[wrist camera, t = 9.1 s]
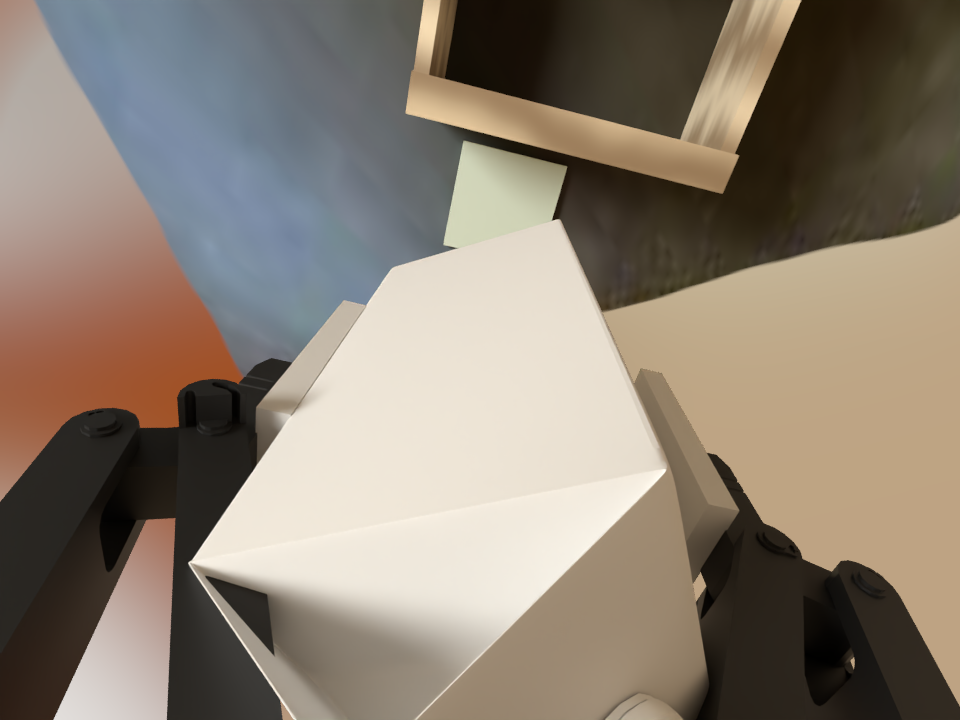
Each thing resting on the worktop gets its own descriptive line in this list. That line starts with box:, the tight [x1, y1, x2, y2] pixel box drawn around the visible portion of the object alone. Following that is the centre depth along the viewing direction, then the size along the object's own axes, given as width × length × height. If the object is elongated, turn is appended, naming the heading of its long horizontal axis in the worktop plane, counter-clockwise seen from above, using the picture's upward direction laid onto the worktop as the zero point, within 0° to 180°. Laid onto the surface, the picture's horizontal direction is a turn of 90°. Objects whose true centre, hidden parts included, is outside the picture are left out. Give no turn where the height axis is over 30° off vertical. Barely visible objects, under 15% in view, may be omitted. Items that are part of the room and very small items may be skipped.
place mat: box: [443, 140, 567, 248], centre depth 44 cm, size 9×9×1 cm
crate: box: [406, 0, 801, 194], centre depth 34 cm, size 18×22×10 cm
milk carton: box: [188, 219, 709, 720], centre depth 13 cm, size 7×7×19 cm
